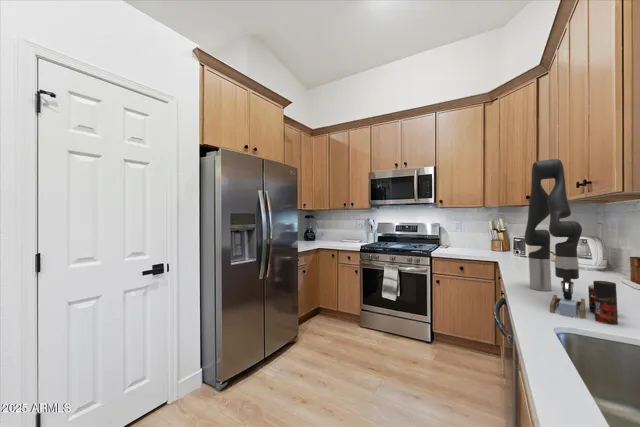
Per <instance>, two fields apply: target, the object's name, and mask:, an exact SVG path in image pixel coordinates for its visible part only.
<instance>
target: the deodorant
mask: <svg viewBox="0 0 640 427" xmlns="http://www.w3.org/2000/svg"><path fill="white" fill-rule="evenodd" d="M592 285H594V307H595V314H594V320H595V321H596V322H598V323H601V322H602V323H601V324H605V325H613V326H614V325H618V324H619V320H618V318H619V317H618V297H617V295H618V294H617V295H616V293H617V283H616V282H612V281H607V280H593V284H592Z"/></svg>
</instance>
